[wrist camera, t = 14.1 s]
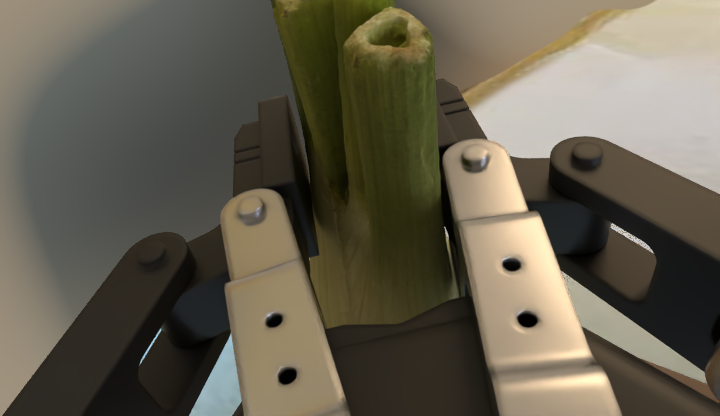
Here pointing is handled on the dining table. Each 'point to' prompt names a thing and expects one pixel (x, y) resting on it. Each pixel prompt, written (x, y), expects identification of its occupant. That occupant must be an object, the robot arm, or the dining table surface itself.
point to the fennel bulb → (369, 157)
